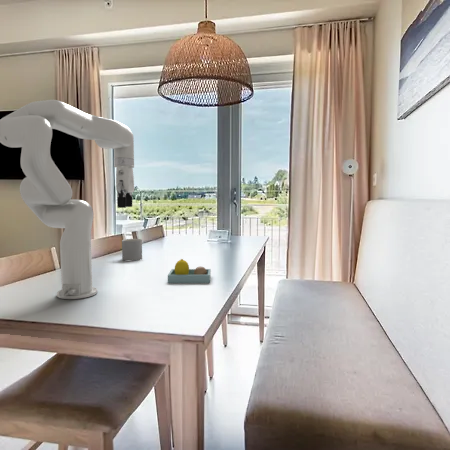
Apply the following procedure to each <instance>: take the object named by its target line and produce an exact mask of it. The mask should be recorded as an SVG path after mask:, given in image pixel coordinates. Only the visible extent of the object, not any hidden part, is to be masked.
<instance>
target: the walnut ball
mask: <svg viewBox="0 0 450 450" xmlns="http://www.w3.org/2000/svg"><path fill="white" fill-rule="evenodd" d="M194 269H195V270H194V275H207V271H206V269H207V268H205V267H203V266H198V267H196V268H194Z"/></svg>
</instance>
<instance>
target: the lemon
mask: <svg viewBox="0 0 450 450" xmlns="http://www.w3.org/2000/svg"><path fill="white" fill-rule="evenodd" d="M174 269H175V274H176V275H188V273H189V269H190V267H189V263H188V262H187V260H184V258H180V259H179V260H178V261H176V262H175V265H174Z"/></svg>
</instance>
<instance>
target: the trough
mask: <svg viewBox="0 0 450 450" xmlns="http://www.w3.org/2000/svg"><path fill="white" fill-rule="evenodd" d="M195 269H196V268H189V273H188V275H176V274H175V268H172V269H171V270H169V273H168V274H167V283H168V284H210V283H211V276H212V270H211V268H205V269H206V271H207V275H194V270H195Z"/></svg>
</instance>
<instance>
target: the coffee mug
mask: <svg viewBox="0 0 450 450" xmlns="http://www.w3.org/2000/svg"><path fill="white" fill-rule="evenodd" d="M121 257H122V259H124V260H137V261H141V260H142V259H143V239H141V238H125V239H122V240H121ZM140 259H141V260H140ZM124 260H123V261H124Z"/></svg>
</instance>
